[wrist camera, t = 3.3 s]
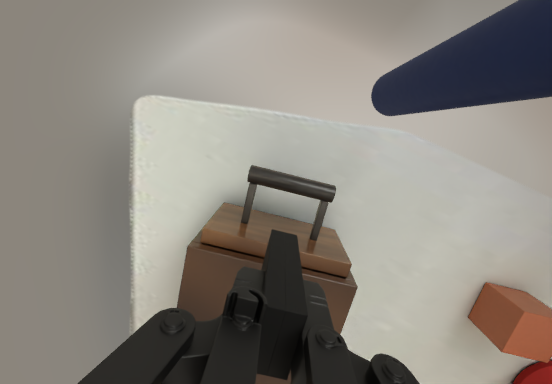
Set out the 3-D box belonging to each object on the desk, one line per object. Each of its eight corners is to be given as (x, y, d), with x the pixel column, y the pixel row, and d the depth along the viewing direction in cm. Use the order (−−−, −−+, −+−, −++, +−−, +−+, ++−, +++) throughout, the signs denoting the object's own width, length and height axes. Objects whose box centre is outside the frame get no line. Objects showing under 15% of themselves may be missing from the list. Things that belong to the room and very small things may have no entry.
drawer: (233, 153, 24) (214, 163, 18) (350, 183, 25) (374, 203, 18) (200, 315, 29) (175, 370, 22) (299, 338, 29) (303, 400, 22)
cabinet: (218, 209, 27) (187, 245, 18) (335, 238, 27) (358, 287, 19) (194, 324, 30) (160, 399, 22) (299, 349, 30) (304, 432, 22)
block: (485, 281, 27) (524, 311, 23) (526, 291, 28) (572, 323, 23) (467, 317, 29) (501, 352, 24) (506, 326, 29) (547, 363, 24)
